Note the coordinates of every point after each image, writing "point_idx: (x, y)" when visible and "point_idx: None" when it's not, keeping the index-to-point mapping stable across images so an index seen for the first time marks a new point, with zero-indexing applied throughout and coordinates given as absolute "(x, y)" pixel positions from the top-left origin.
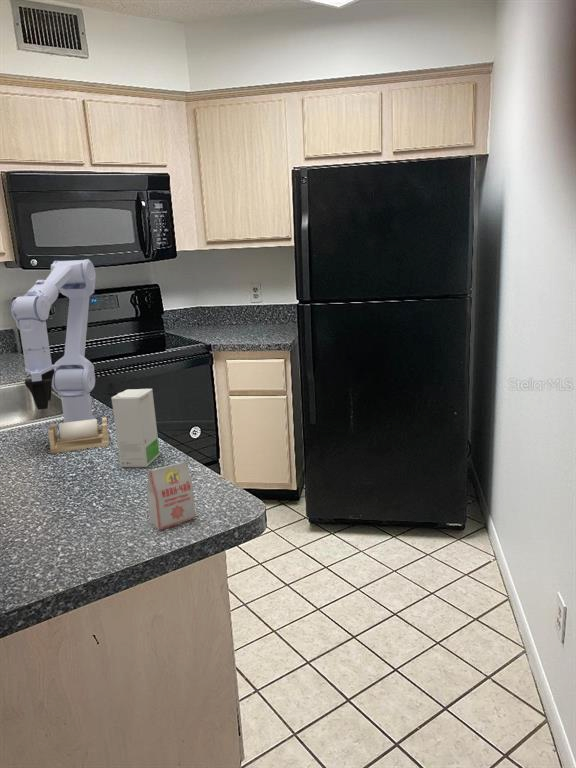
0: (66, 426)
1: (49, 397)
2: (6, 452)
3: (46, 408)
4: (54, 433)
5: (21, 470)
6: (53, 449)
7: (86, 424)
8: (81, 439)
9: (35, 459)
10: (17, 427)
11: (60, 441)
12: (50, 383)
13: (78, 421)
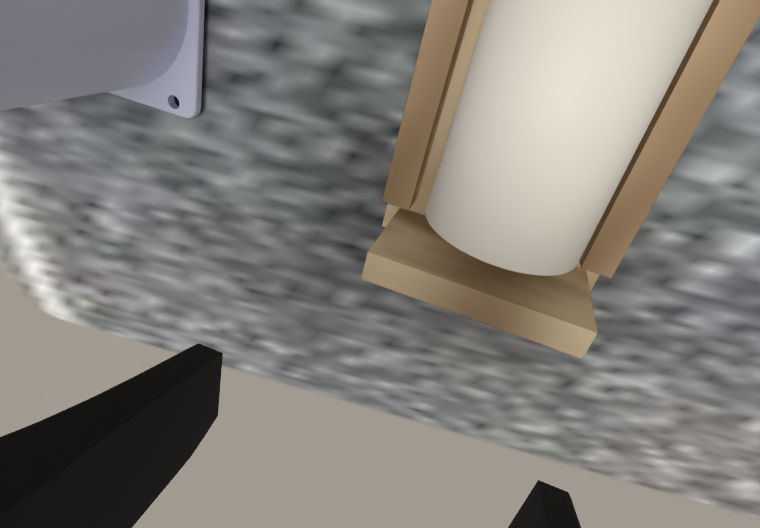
0: (574, 223)
1: (200, 378)
2: (392, 414)
3: (570, 503)
4: (501, 276)
5: (746, 461)
6: (595, 279)
7: (672, 32)
8: (679, 102)
9: (620, 368)
10: (46, 279)
11: None
12: (45, 497)
13: (565, 103)
